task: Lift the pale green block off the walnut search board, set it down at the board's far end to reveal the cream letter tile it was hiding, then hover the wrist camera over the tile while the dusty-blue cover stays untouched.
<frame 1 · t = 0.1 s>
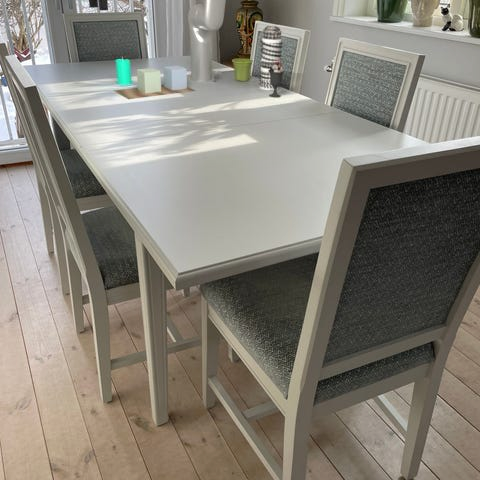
hand: (98, 8, 193), 31 cm above the table, fingers open, 9 cm apart
search board: (155, 93, 210), on the table
decorative candle: (268, 88, 224), on the table
pale green block: (149, 90, 209), point 1 cm above the table, touching search board
sundae: (274, 96, 213), on the table
blue cover: (175, 87, 215), point 1 cm above the table, touching search board
plant pot: (241, 80, 236), on the table
candle: (124, 86, 219), on the table
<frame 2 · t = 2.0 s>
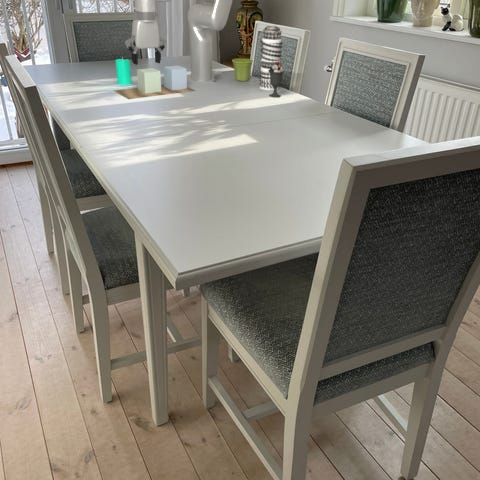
hand: (146, 63, 203), 12 cm above the table, fingers open, 9 cm apart
nothing on the table moved.
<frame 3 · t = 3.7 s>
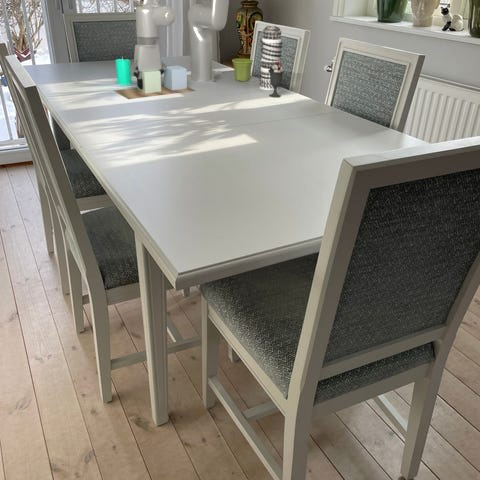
hand: (149, 87, 208), 2 cm above the table, fingers closed on pale green block, 7 cm apart
pale green block: (149, 90, 209), point 1 cm above the table, touching gripper, search board
everything else where it was.
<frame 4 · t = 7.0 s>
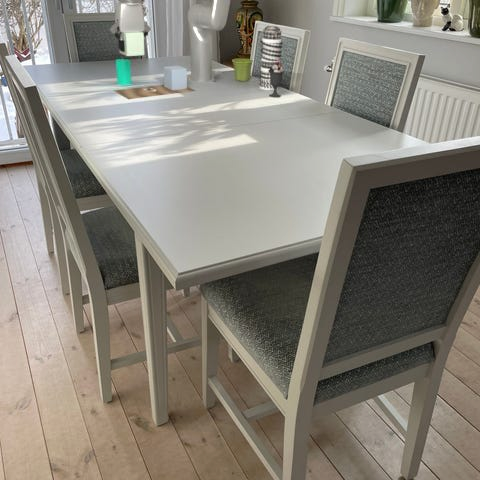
hand: (131, 50, 196), 17 cm above the table, fingers closed on pale green block, 7 cm apart
pale green block: (132, 54, 197), point 16 cm above the table, touching gripper
everything else where it was.
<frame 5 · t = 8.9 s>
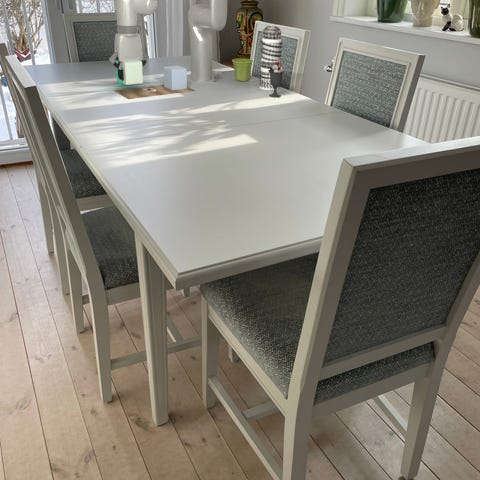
hand: (130, 78, 200), 7 cm above the table, fingers closed on pale green block, 7 cm apart
pale green block: (130, 82, 201), point 6 cm above the table, touching gripper
everything else where it was.
when the fingers open (4 cm above the table, at t = 10.5 s): pale green block drops 1 cm, resting on search board.
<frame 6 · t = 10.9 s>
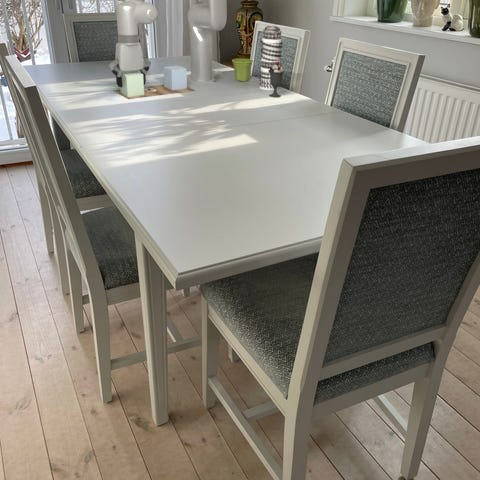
hand: (131, 85, 202), 4 cm above the table, fingers open, 9 cm apart
pale green block: (132, 94, 203), point 1 cm above the table, touching search board
everything else where it was.
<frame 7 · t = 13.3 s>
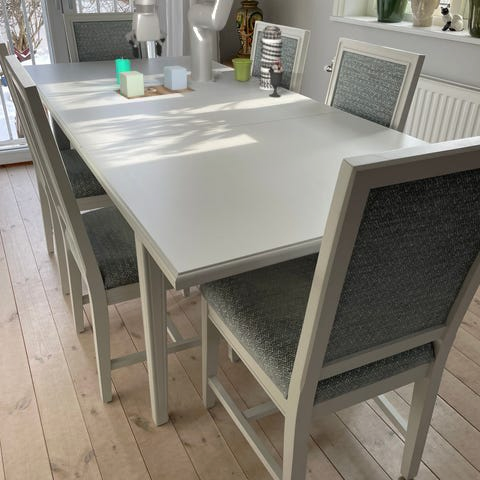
hand: (147, 56, 203), 14 cm above the table, fingers open, 9 cm apart
nothing on the table moved.
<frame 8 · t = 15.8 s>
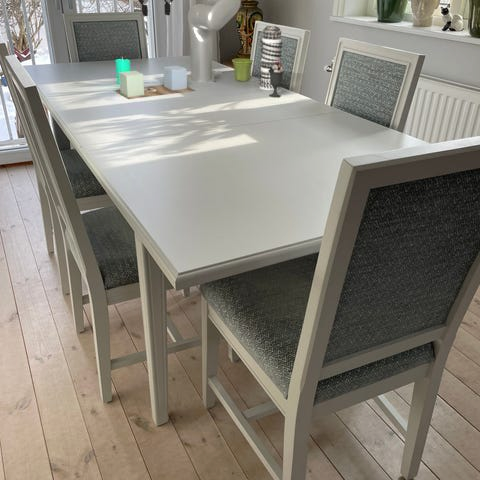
hand: (156, 15, 205), 28 cm above the table, fingers open, 9 cm apart
nothing on the table moved.
at the end: pale green block 0.1 cm from the target spot, point 1.0 cm above the table; pale green block tilted 0°; blue cover moved 0.0 cm from its start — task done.
